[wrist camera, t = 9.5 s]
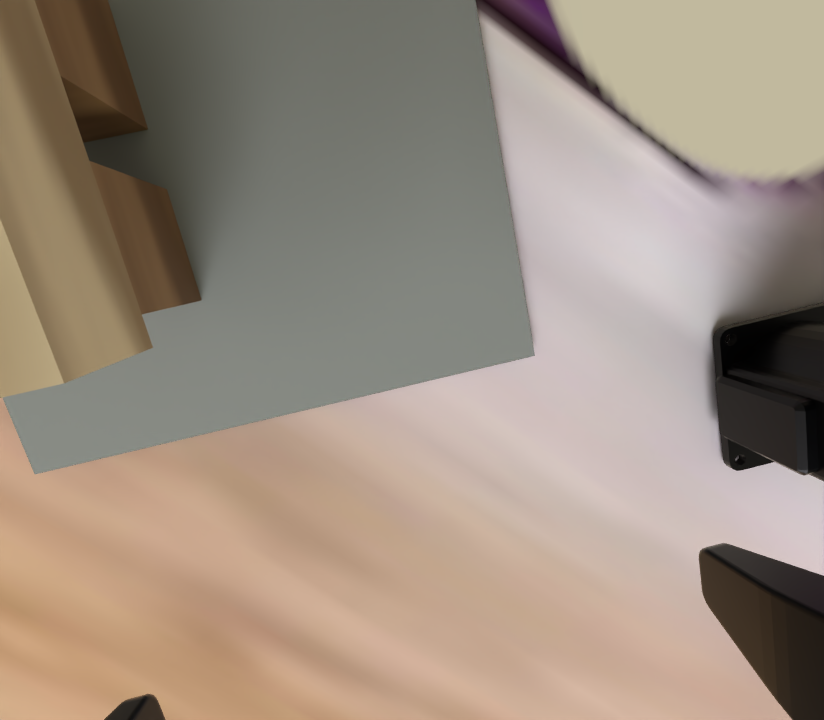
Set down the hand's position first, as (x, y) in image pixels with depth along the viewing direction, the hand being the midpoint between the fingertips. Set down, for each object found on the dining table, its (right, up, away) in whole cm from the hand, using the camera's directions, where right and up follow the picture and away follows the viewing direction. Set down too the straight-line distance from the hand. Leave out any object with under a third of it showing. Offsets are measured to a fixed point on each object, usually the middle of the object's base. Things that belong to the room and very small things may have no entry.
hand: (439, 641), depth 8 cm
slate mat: (-7, +11, +10) cm, 16 cm away
